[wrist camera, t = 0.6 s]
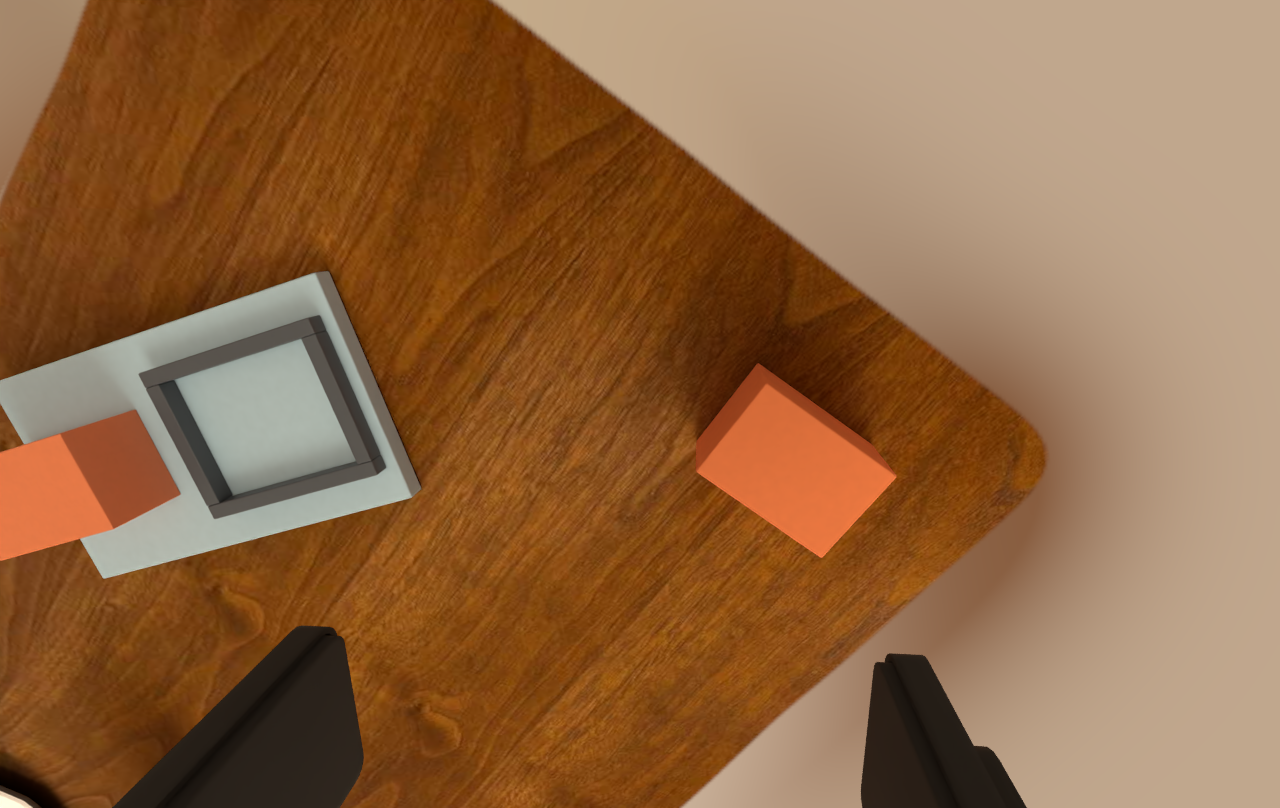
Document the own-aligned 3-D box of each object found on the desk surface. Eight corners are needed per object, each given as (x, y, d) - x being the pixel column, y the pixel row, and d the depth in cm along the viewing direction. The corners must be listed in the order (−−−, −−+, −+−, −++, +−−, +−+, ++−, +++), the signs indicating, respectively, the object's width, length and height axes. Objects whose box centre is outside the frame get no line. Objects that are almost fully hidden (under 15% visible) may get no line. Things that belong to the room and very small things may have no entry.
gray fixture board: (12, 379, 33) (-108, 405, 28) (329, 270, 30) (255, 279, 25) (121, 568, 36) (29, 622, 31) (422, 488, 33) (372, 535, 28)
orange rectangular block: (806, 518, 31) (821, 559, 27) (695, 441, 31) (695, 471, 27) (872, 444, 30) (897, 476, 26) (757, 362, 29) (766, 382, 25)
